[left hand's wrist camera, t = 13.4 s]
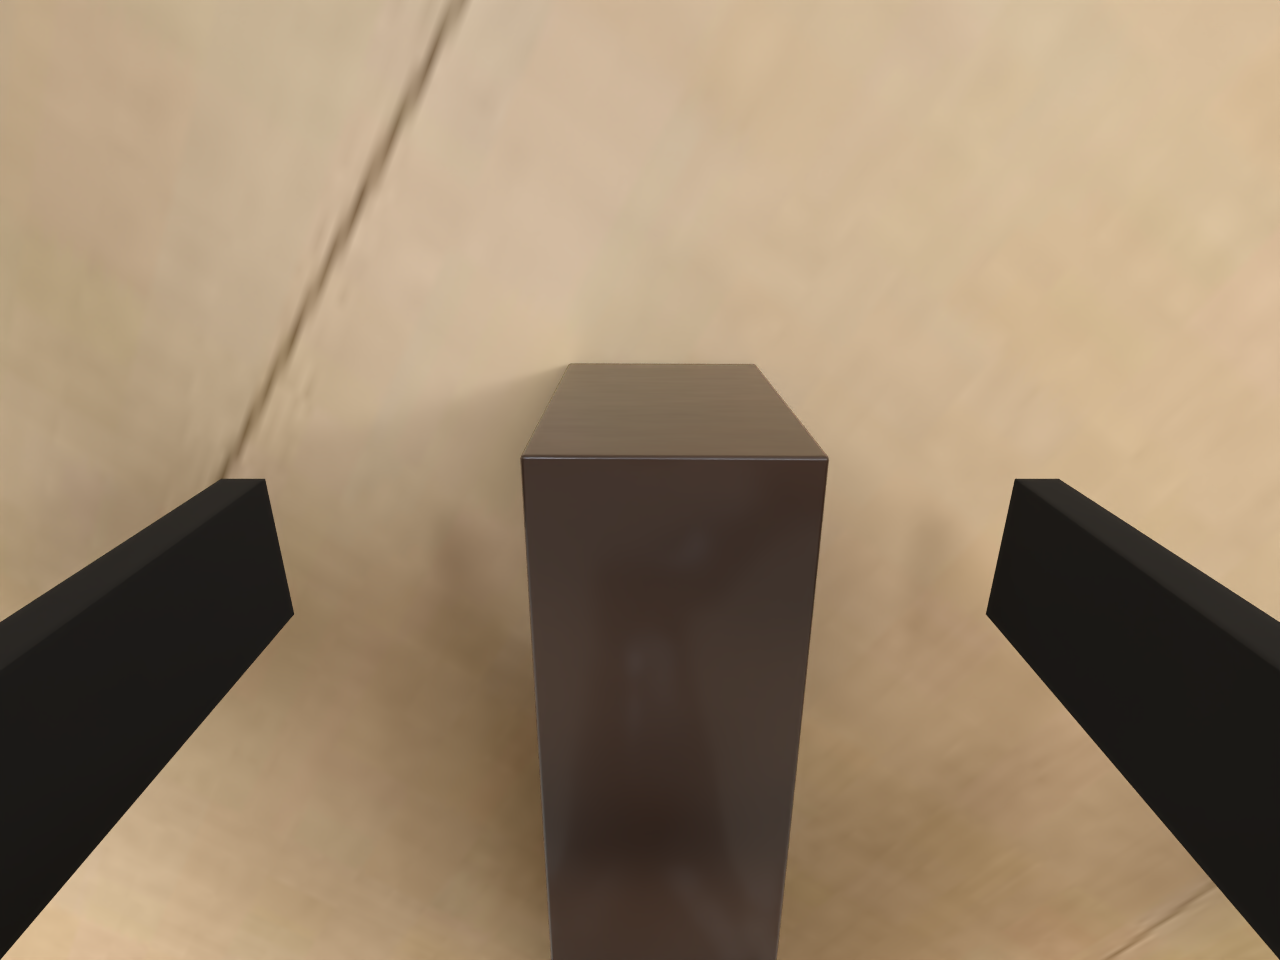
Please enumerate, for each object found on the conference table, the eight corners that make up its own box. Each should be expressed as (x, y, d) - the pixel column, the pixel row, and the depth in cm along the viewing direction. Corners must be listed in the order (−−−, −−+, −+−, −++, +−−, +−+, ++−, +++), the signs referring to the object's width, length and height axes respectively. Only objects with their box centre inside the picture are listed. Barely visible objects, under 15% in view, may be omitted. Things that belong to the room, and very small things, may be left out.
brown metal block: (713, 1046, 28) (738, 1333, 21) (591, 1045, 28) (573, 1332, 21) (755, 363, 18) (830, 456, 11) (568, 363, 18) (519, 455, 11)
